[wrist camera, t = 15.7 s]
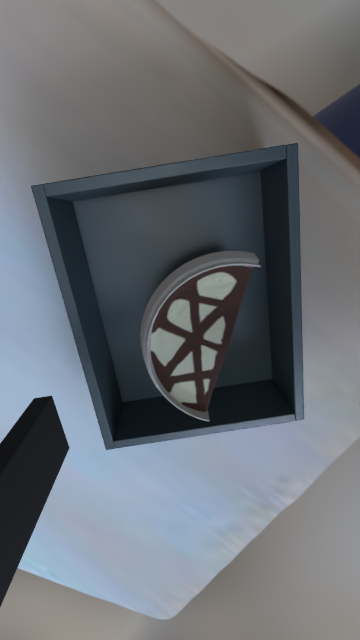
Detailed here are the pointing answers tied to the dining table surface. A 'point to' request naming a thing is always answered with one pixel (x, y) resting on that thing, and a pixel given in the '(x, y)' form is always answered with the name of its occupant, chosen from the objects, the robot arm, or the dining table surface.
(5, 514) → the robot arm
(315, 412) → the dining table surface
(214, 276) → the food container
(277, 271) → the tote
